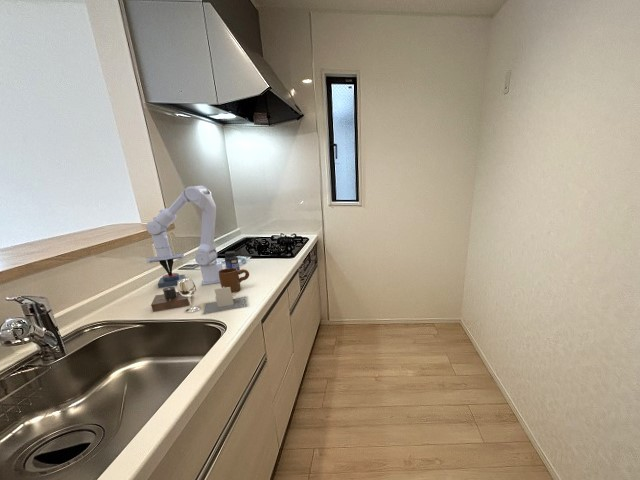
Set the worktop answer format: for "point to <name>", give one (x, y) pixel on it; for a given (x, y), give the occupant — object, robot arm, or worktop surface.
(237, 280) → the mug
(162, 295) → the panel
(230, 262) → the pill bottle
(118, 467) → the worktop surface
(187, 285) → the wineglass
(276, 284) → the worktop surface
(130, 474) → the worktop surface
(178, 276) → the button box
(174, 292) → the knob
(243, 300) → the architectural model
